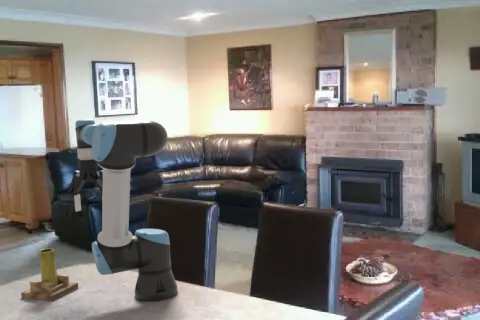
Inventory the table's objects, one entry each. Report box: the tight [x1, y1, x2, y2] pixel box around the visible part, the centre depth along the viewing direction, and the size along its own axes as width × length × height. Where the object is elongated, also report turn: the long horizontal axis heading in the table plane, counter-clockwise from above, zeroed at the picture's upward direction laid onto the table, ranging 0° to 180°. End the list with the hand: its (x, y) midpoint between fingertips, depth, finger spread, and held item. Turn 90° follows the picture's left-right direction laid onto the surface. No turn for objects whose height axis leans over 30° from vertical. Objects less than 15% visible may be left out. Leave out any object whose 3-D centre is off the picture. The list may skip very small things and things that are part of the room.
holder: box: [20, 273, 79, 302], centre depth 187 cm, size 14×14×6 cm
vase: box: [39, 247, 59, 287], centre depth 187 cm, size 6×6×14 cm
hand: (92, 211), depth 203 cm, fingers open, 13 cm apart
